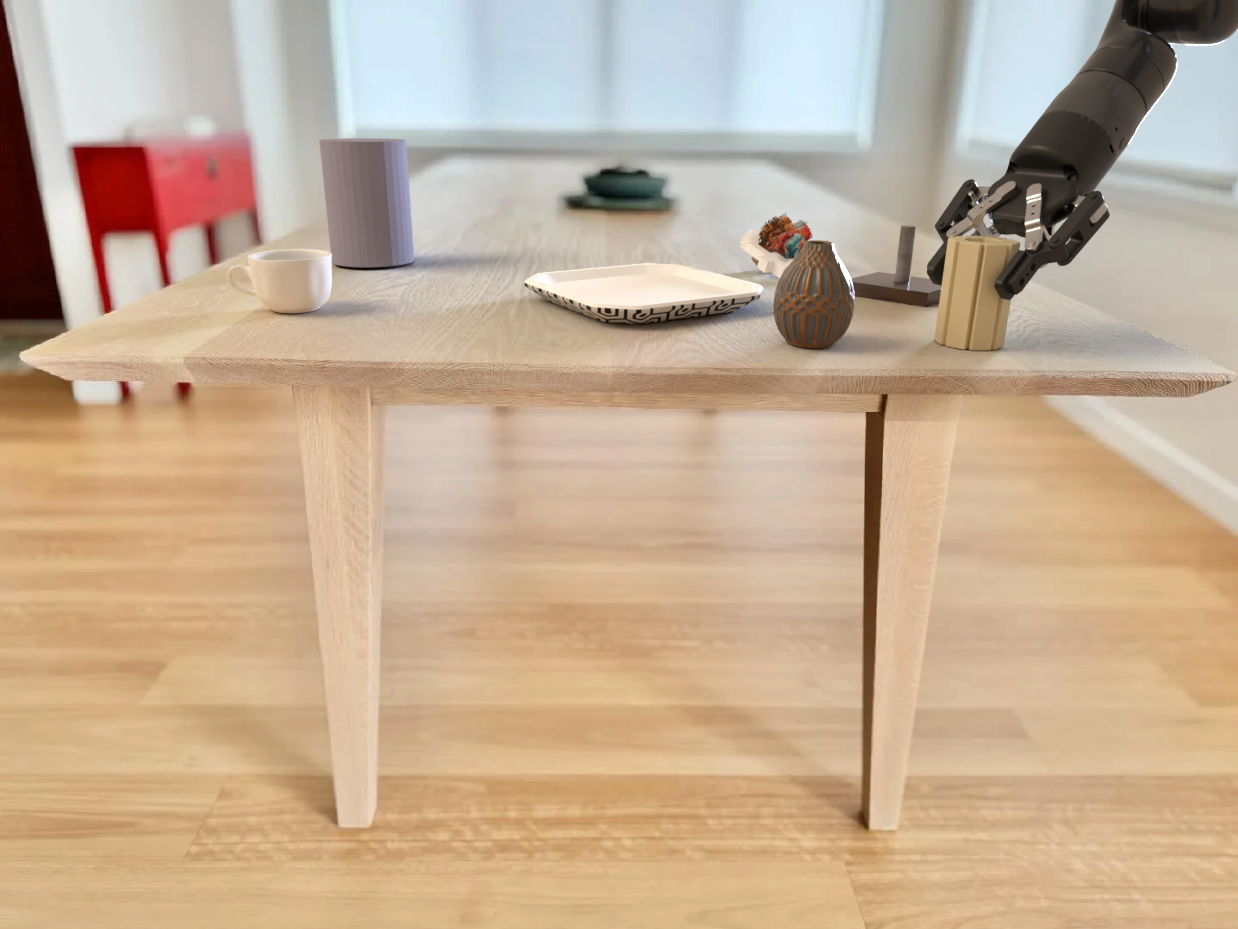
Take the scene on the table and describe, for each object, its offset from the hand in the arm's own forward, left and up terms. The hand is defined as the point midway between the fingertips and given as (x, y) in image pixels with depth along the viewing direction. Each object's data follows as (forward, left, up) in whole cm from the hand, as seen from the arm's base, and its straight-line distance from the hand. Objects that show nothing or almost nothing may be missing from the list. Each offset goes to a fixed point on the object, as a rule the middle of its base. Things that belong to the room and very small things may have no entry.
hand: (966, 285), depth 80 cm
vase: (+10, +9, -5) cm, 14 cm away
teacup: (+55, +34, -5) cm, 65 cm away
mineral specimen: (+33, -22, -5) cm, 39 cm away
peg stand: (+15, -18, -5) cm, 23 cm away
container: (+73, +12, -5) cm, 74 cm away
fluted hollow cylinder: (0, -2, -5) cm, 5 cm away
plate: (+32, +6, -5) cm, 33 cm away
